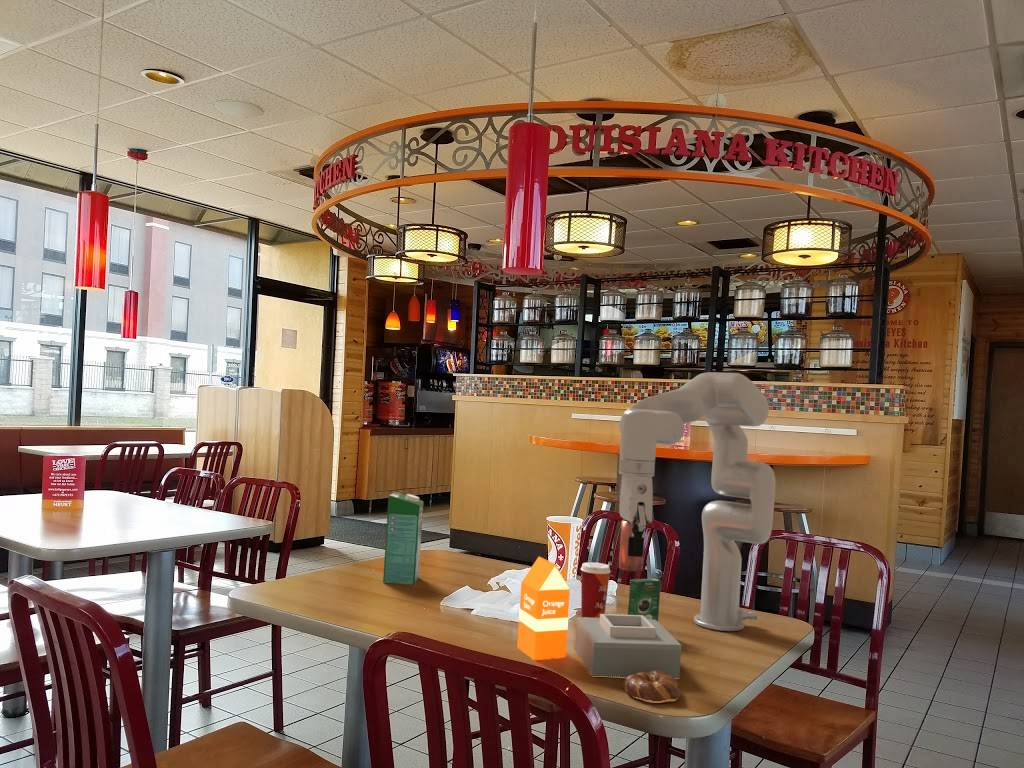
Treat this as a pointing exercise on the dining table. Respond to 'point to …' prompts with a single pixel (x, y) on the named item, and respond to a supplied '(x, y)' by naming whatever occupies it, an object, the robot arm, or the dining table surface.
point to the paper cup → (594, 589)
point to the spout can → (624, 560)
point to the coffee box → (644, 598)
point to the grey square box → (626, 646)
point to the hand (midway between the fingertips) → (631, 552)
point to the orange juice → (543, 612)
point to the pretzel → (652, 686)
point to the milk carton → (403, 539)
